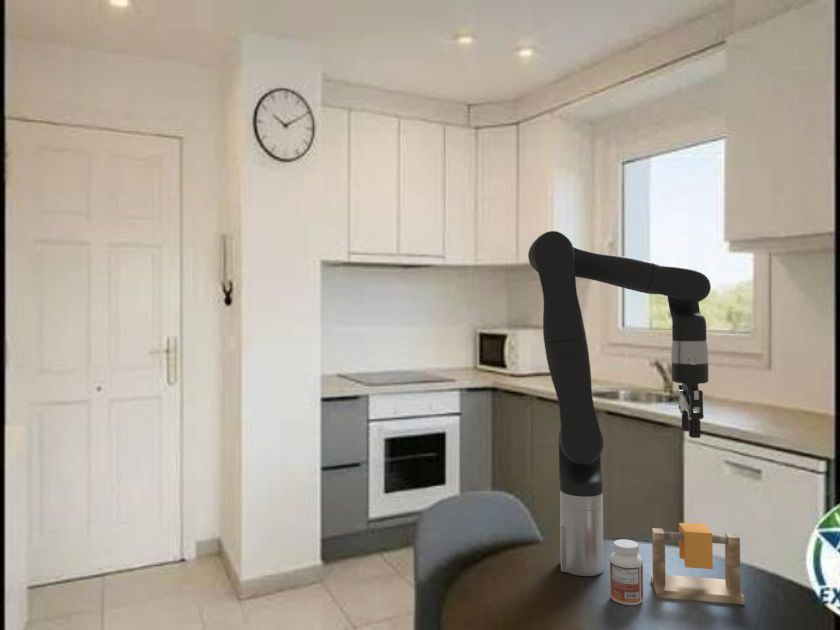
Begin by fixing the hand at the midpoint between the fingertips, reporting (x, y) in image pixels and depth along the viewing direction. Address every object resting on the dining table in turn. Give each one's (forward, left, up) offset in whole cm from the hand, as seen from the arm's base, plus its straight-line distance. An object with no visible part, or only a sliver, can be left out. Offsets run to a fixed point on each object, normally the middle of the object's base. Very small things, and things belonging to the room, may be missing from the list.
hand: (690, 433), depth 138 cm
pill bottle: (-16, -19, -30) cm, 39 cm away
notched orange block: (-2, -13, -24) cm, 27 cm away
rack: (-2, -13, -30) cm, 32 cm away
